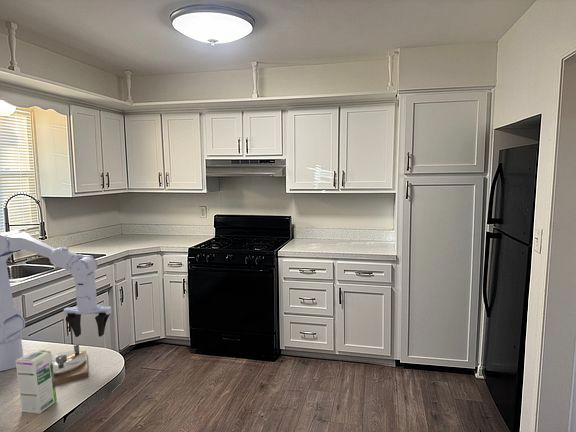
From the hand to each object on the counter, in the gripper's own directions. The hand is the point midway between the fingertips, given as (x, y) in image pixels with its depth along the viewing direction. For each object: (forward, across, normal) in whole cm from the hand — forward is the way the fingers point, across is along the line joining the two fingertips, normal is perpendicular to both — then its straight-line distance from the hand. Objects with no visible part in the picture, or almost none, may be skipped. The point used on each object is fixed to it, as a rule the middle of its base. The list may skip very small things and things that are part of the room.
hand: (89, 335), depth 125 cm
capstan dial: (+8, +7, +5) cm, 11 cm away
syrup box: (+10, +2, +24) cm, 26 cm away
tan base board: (+9, +7, +5) cm, 13 cm away
